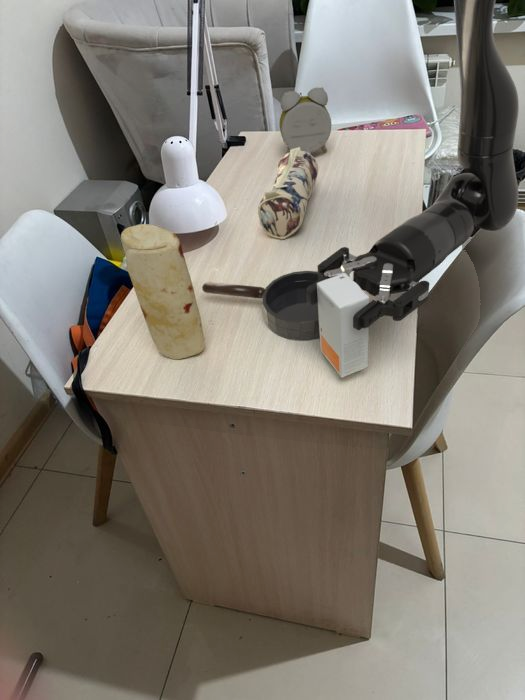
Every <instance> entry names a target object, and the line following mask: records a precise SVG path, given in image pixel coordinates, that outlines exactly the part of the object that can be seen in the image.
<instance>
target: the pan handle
mask: <svg viewBox="0 0 525 700" xmlns="http://www.w3.org/2000/svg"><path fill="white" fill-rule="evenodd" d="M201 289H202V291H203V293H205V294H213V295H221V296H232V297H239V298H240V297H241V298H251V299H260V300H262V294H263V293H264V292H265V288H264V287H262V286H253V285H244V284H235V283H234V284H233V283H223V282H222V283H221V282H212V281H205V282H204V283H202V285H201Z"/></svg>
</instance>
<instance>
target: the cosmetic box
mask: <svg viewBox="0 0 525 700" xmlns="http://www.w3.org/2000/svg"><path fill="white" fill-rule="evenodd" d="M317 297H318V314H319V331H320V338H319V346H320V352H321V353H322V355H323V356H324V357H325V358H326V359H327V361H328V362H329V363H330V364H331V366H332V367H333V369H334V370H335V371H336V374H338V375H339V377H340V378H344V377H348V376H349V375H351V374H354V373H357V372H359V371H362V370H364V369H366V368H368V367H369V333H370V331H369V330H370V326H369V327H367V328H365V329H364V328H362V329H361V330H357V329H355V328H353V317H354V315H355V313H357V312H358V311H359V310H361V309H362V308H363V307H365V306H366V305H367V304H368V303H370V296H369V295H368V293H366V291H364V290H362V289H361V288H360V287H359V285H358V284H357V283H355V282H354V281H353V278H351V276H350V277H349V276H348V275H347V274H346V273H343V274H340V275H337V276H335V277H332V278H329V279H326V280H323V281H321V282H318V283H317Z"/></svg>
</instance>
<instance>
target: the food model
mask: <svg viewBox="0 0 525 700" xmlns="http://www.w3.org/2000/svg"><path fill="white" fill-rule="evenodd" d="M120 240H121V245H122V249H123V253H124V256H125V262H126V263H125V264H126V270H127V272H128V275H129V278H130V280H131V283H132V286H133V289H134V293H135V295H136V298H137V301H138V304H139V307H140V310H141V312H142V315H143V317H144V320H145V322H146V326H147V328H148V331H149V334H150V336H151V339H152V342H153V343H154V345H155V347H156V349H157V350H158V351H159V353H161V355H163V356H164V357H166V358H169V359H172V360H182V359H187V358H189V357H193V356H196V355H198V354H200V353H202V352H203V350H204V349H205V348H206V341H205V335H204V331H203V323H202V317H201V314H200V309H199V305H198V301H197V298H196V294H195V293H196V292H195V289H194V285H193V281H192V278H191V277H192V276H191V275H190V271H189V268H188V264H187V262H186V258H185V255H184V252H183V246H182V243H181V240H180V239H179V237H178V236H177V235H176V234H175V233H173V232H172V231H170V230H168V229H165V228H163V227H160V226H159V225H155V224H149V223H141V224H136V225H131V226H129V227H126V228H124V229H123V231H122V232H121V234H120Z"/></svg>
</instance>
